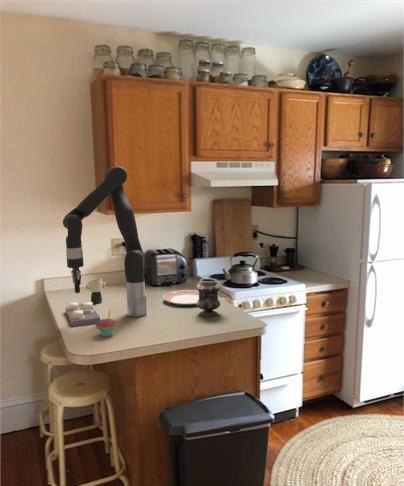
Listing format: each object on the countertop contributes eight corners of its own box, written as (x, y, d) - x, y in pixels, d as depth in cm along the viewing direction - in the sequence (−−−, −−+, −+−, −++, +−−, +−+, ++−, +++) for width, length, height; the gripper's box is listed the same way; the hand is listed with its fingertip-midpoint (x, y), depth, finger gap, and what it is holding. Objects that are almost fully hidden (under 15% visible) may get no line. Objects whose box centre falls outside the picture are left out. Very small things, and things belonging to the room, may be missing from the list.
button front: (84, 317, 203) (83, 312, 203) (73, 318, 201) (73, 313, 201) (82, 314, 207) (82, 309, 207) (72, 315, 205) (72, 310, 205)
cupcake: (117, 331, 192) (116, 305, 190) (114, 337, 183) (113, 311, 182) (98, 331, 191) (97, 305, 190) (94, 338, 183) (93, 311, 181)
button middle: (93, 308, 212) (93, 303, 212) (83, 309, 210) (83, 304, 210) (91, 306, 217) (91, 301, 216) (82, 307, 215) (81, 302, 214)
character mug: (105, 299, 246) (104, 277, 244) (107, 302, 239) (106, 280, 237) (86, 301, 242) (84, 279, 240) (87, 305, 235) (86, 282, 233)
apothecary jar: (222, 311, 219) (222, 277, 217) (217, 318, 208) (216, 283, 206) (200, 310, 223) (199, 276, 220) (193, 317, 211) (193, 281, 209)
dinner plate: (219, 304, 234) (219, 298, 233) (171, 310, 224) (171, 304, 223) (201, 293, 259) (200, 288, 259) (157, 298, 249) (157, 292, 249)
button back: (79, 308, 217) (78, 304, 217) (69, 309, 215) (69, 305, 215) (77, 306, 222) (77, 301, 221) (68, 307, 220) (67, 302, 219)
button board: (100, 322, 204) (100, 317, 203) (72, 326, 198) (72, 320, 198) (90, 309, 227) (90, 303, 227) (65, 312, 222) (65, 307, 222)
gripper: (85, 258, 195) (88, 294, 198) (80, 254, 207) (83, 288, 210) (68, 259, 192) (71, 296, 194) (64, 255, 204) (67, 291, 206)
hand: (77, 292), depth 202 cm, fingers closed
